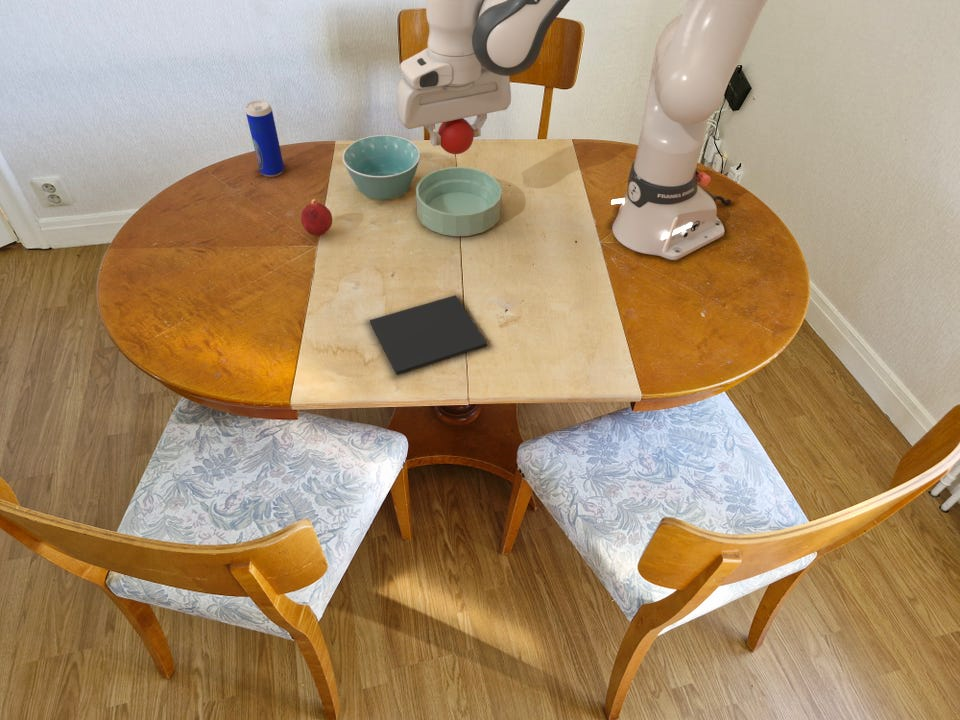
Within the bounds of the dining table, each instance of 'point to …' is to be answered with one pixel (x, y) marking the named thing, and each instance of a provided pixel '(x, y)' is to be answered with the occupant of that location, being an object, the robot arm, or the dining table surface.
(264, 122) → the beverage can
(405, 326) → the mat
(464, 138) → the red ball
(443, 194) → the fruit bowl
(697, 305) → the dining table surface
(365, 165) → the bowl
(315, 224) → the onion
